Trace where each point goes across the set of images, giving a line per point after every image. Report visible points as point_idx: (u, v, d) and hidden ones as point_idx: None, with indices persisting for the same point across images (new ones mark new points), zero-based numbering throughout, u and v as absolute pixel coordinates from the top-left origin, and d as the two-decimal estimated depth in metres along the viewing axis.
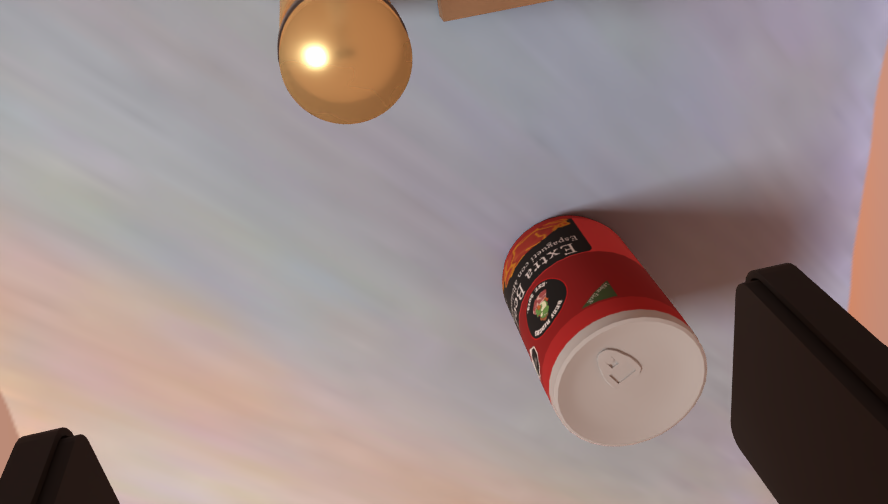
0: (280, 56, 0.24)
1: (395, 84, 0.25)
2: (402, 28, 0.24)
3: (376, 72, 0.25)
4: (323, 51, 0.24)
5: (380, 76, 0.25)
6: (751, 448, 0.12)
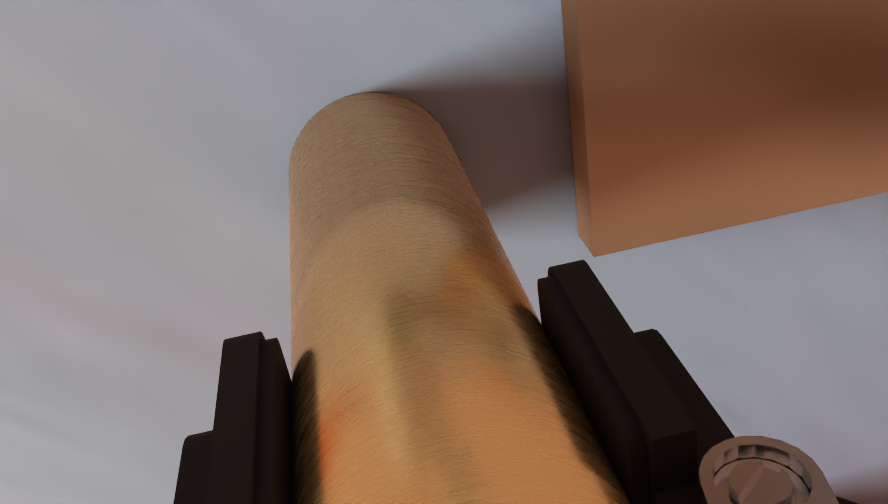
0: None
1: None
2: None
3: None
4: None
5: None
6: None
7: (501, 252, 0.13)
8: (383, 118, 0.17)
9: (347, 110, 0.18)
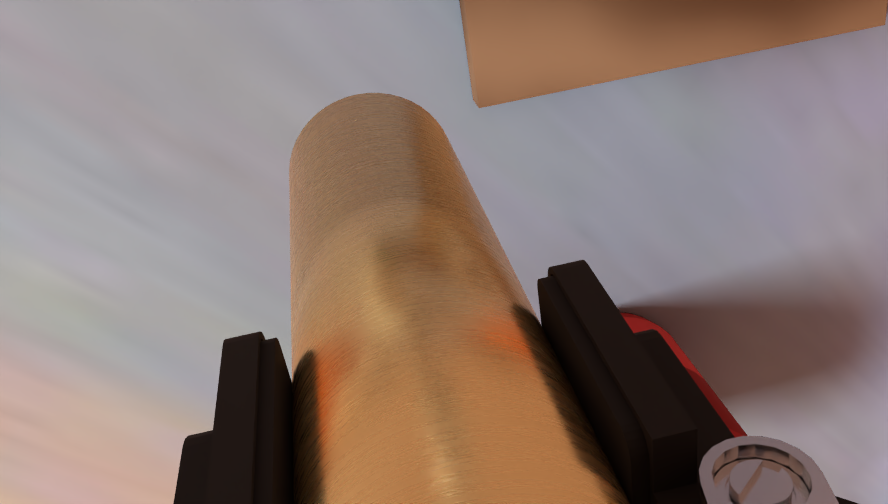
0: None
1: None
2: None
3: None
4: None
5: None
6: None
7: (501, 253, 0.13)
8: (383, 119, 0.17)
9: (347, 111, 0.18)
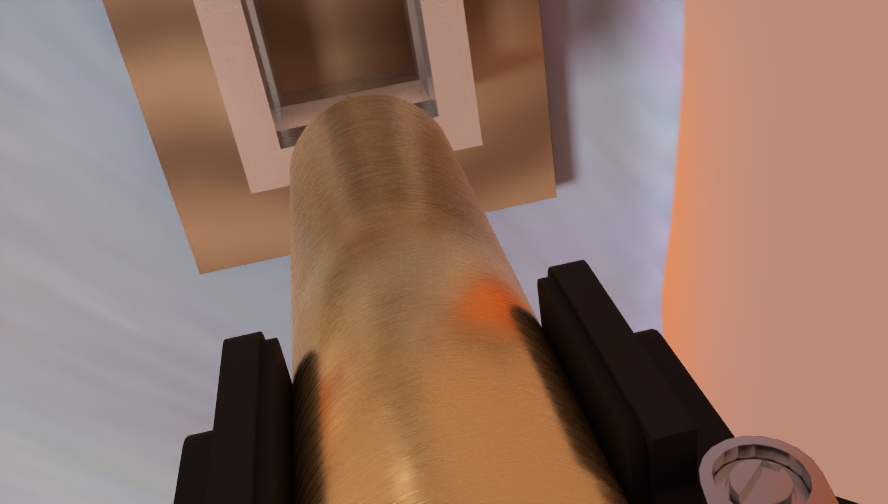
0: None
1: None
2: None
3: None
4: None
5: None
6: None
7: (501, 255, 0.13)
8: (384, 120, 0.17)
9: (347, 112, 0.18)
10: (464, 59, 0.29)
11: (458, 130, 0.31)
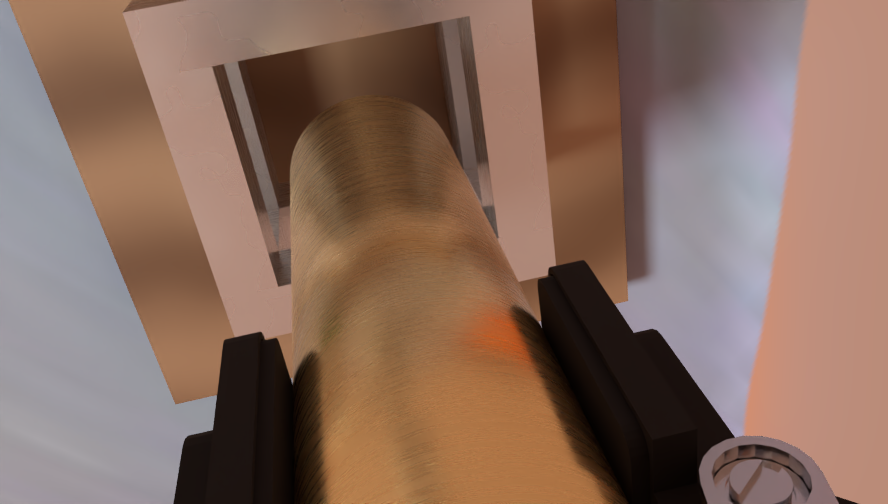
0: None
1: None
2: None
3: None
4: None
5: None
6: None
7: (502, 256, 0.13)
8: (384, 121, 0.17)
9: (348, 113, 0.18)
10: (537, 163, 0.21)
11: (525, 255, 0.22)
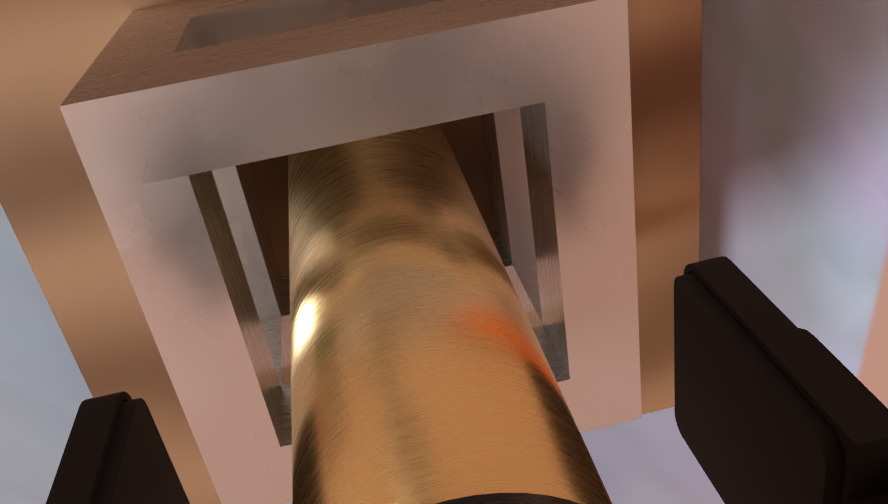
0: None
1: None
2: None
3: None
4: None
5: None
6: (692, 436, 0.12)
7: (484, 231, 0.14)
8: None
9: None
10: (625, 286, 0.16)
11: (603, 398, 0.17)
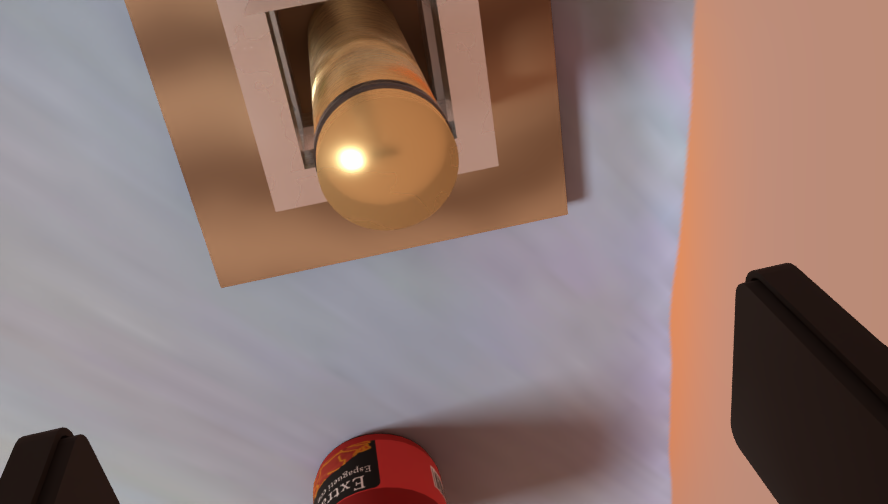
0: (318, 163, 0.22)
1: (440, 189, 0.23)
2: (449, 133, 0.22)
3: (419, 178, 0.23)
4: (364, 157, 0.22)
5: (424, 181, 0.23)
6: (751, 448, 0.12)
7: (406, 45, 0.29)
8: None
9: None
10: (482, 84, 0.30)
11: (476, 151, 0.32)
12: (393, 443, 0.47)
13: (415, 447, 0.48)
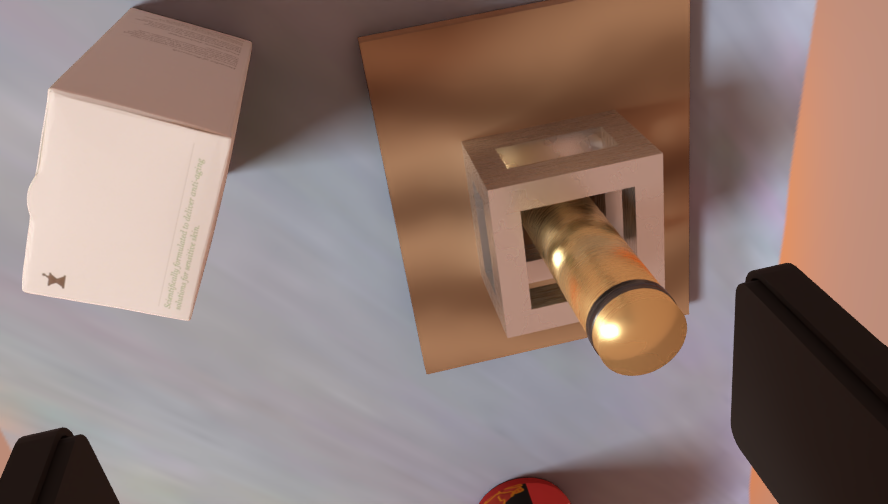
0: (600, 338, 0.34)
1: (672, 350, 0.35)
2: (683, 316, 0.35)
3: (660, 344, 0.35)
4: (629, 333, 0.35)
5: (663, 345, 0.35)
6: (751, 448, 0.12)
7: None
8: None
9: None
10: (660, 249, 0.43)
11: None
12: (540, 486, 0.59)
13: (555, 488, 0.60)
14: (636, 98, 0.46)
